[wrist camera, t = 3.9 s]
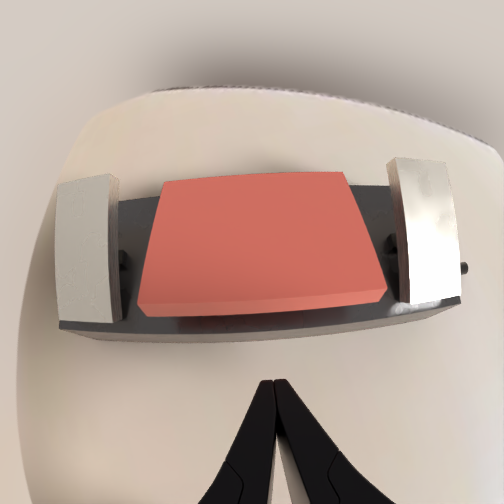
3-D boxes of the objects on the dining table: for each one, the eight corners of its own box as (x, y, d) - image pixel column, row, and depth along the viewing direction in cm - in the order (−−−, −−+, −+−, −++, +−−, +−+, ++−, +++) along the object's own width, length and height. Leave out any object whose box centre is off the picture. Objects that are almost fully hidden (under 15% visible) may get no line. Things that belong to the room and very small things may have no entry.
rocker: (378, 301, 14) (387, 288, 12) (146, 316, 14) (137, 304, 12) (339, 187, 19) (342, 171, 18) (169, 197, 19) (164, 182, 18)
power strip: (469, 308, 21) (540, 272, 12) (96, 339, 21) (15, 313, 12) (444, 217, 25) (495, 159, 16) (107, 235, 25) (50, 173, 16)
